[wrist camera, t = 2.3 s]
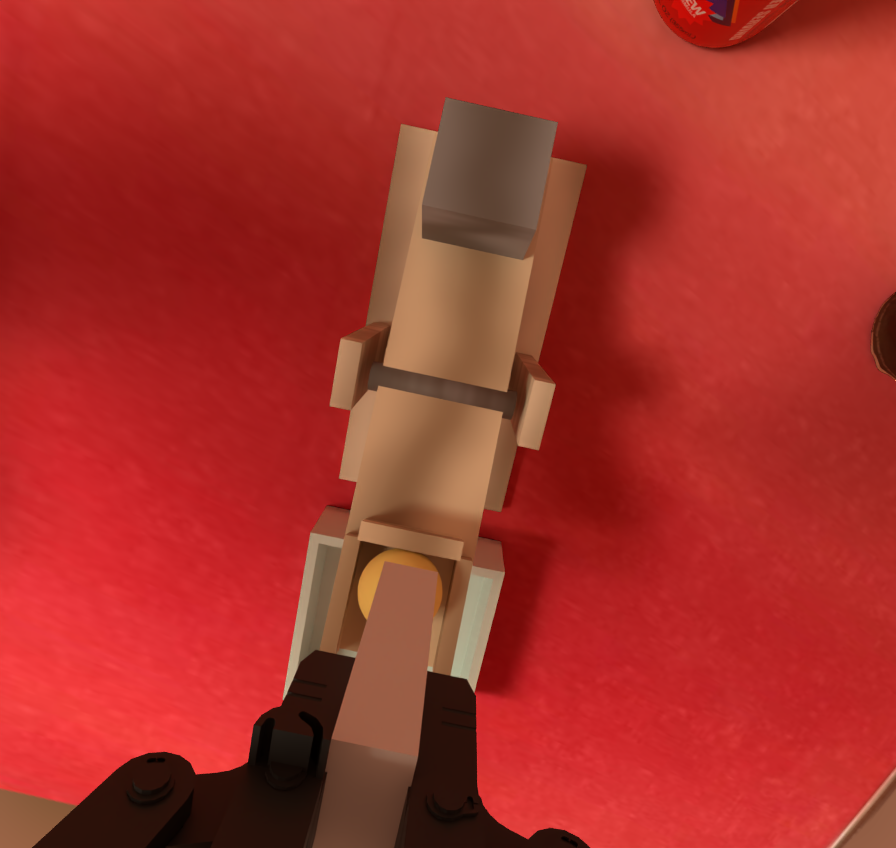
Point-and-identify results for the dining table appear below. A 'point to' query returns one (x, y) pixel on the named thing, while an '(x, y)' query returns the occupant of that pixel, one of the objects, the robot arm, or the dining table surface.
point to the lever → (447, 363)
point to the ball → (374, 570)
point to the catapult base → (391, 261)
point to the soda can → (720, 19)
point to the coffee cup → (885, 337)
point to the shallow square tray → (322, 577)
